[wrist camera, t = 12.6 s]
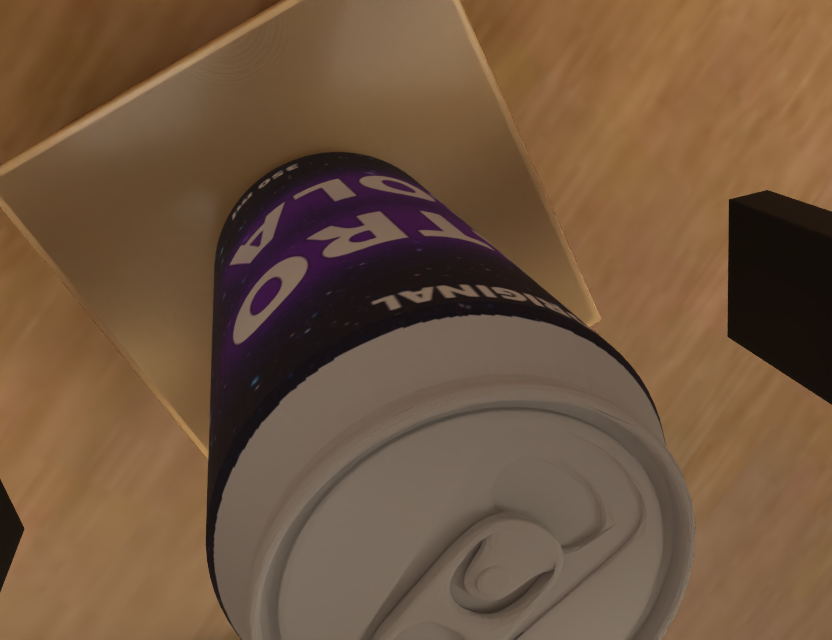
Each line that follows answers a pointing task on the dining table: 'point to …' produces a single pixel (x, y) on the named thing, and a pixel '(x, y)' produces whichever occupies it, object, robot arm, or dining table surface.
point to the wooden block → (271, 168)
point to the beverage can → (422, 432)
